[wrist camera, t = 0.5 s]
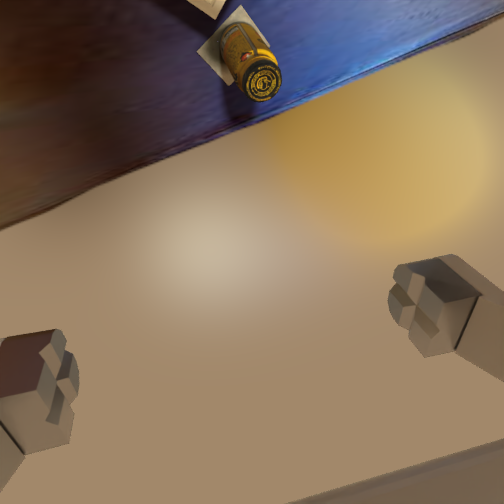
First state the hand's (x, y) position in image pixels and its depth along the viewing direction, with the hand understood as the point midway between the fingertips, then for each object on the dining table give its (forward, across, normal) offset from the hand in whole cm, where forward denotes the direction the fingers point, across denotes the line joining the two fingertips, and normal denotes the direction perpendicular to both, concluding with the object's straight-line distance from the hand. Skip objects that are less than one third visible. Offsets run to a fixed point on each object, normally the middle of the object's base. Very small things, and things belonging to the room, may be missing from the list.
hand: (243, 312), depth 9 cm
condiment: (+53, -11, -1) cm, 54 cm away
